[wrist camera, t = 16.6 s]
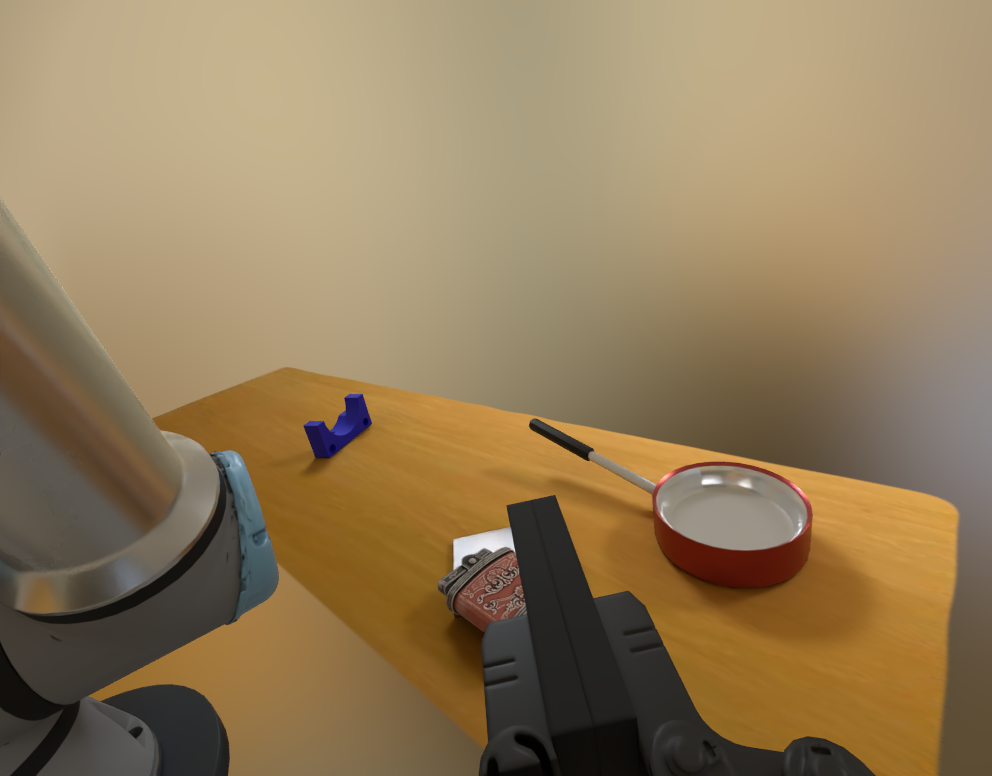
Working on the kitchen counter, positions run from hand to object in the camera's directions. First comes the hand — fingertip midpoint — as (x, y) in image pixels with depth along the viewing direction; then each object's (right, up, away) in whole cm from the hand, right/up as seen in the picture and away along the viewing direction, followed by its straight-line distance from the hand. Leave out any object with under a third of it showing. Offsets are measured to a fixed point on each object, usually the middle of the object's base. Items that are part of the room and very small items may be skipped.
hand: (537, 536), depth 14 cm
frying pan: (+14, -9, +37) cm, 40 cm away
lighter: (+3, -14, +23) cm, 27 cm away
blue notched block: (-28, -5, +68) cm, 74 cm away
